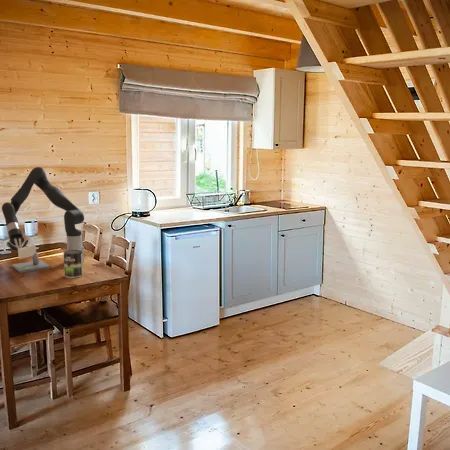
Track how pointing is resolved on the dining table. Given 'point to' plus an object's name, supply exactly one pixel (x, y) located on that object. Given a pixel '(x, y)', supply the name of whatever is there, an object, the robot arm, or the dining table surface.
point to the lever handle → (28, 253)
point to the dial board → (30, 266)
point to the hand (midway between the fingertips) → (20, 254)
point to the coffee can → (73, 263)
